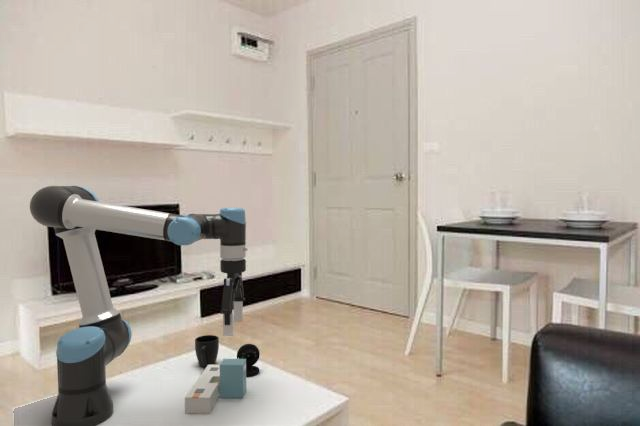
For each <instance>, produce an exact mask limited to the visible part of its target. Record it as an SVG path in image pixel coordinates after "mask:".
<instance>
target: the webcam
mask: <svg viewBox="0 0 640 426" xmlns="http://www.w3.org/2000/svg"><path fill="white" fill-rule="evenodd" d="M236 359H246V378H249V377H255V376H257V375H258V374H260V368H259V367H258V366H256V364H257V362H258V361H259V360H260V350H259V348H258V346H257V345H255V344H252V343H246V344H243V345H241V346H240V348H238V350H237V352H236Z"/></svg>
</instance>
